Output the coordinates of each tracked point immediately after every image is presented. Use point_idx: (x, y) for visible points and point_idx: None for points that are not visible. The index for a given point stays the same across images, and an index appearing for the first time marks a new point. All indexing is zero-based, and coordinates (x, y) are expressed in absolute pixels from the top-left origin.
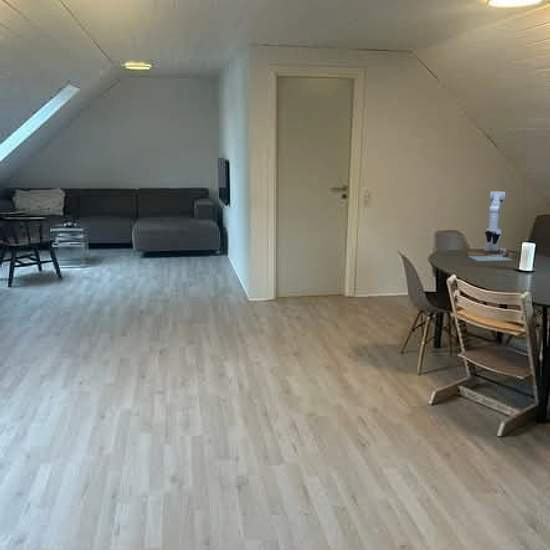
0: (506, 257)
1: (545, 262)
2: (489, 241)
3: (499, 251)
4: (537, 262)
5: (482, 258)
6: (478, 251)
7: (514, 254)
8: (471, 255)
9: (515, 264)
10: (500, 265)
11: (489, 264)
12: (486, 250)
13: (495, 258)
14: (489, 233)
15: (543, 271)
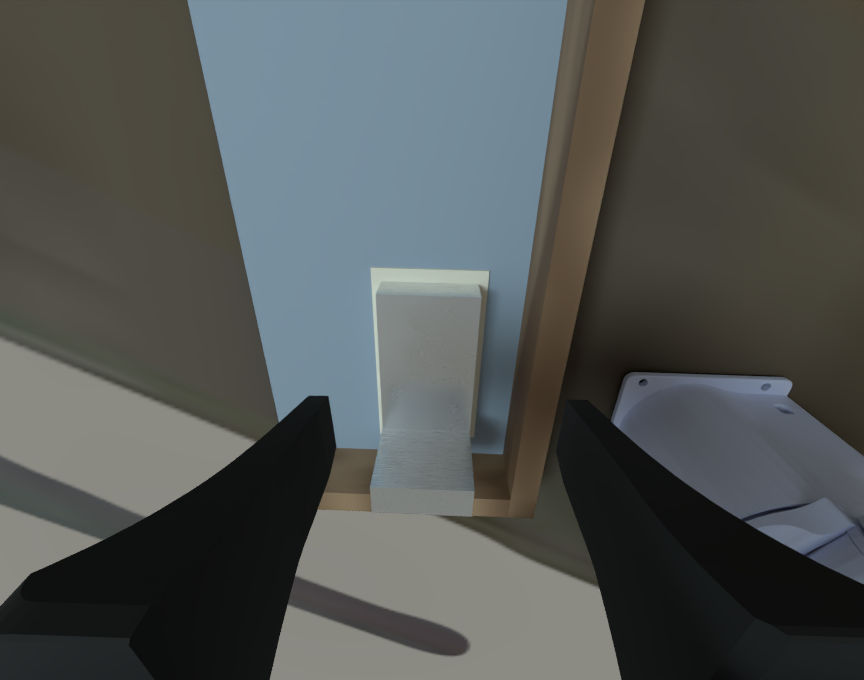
0: None
1: None
2: (564, 442)
3: (514, 461)
4: None
5: (375, 147)
6: (564, 168)
7: None
8: (567, 21)
9: (124, 388)
10: (6, 205)
11: (18, 70)
12: (571, 327)
13: (369, 324)
14: (666, 655)
15: None
